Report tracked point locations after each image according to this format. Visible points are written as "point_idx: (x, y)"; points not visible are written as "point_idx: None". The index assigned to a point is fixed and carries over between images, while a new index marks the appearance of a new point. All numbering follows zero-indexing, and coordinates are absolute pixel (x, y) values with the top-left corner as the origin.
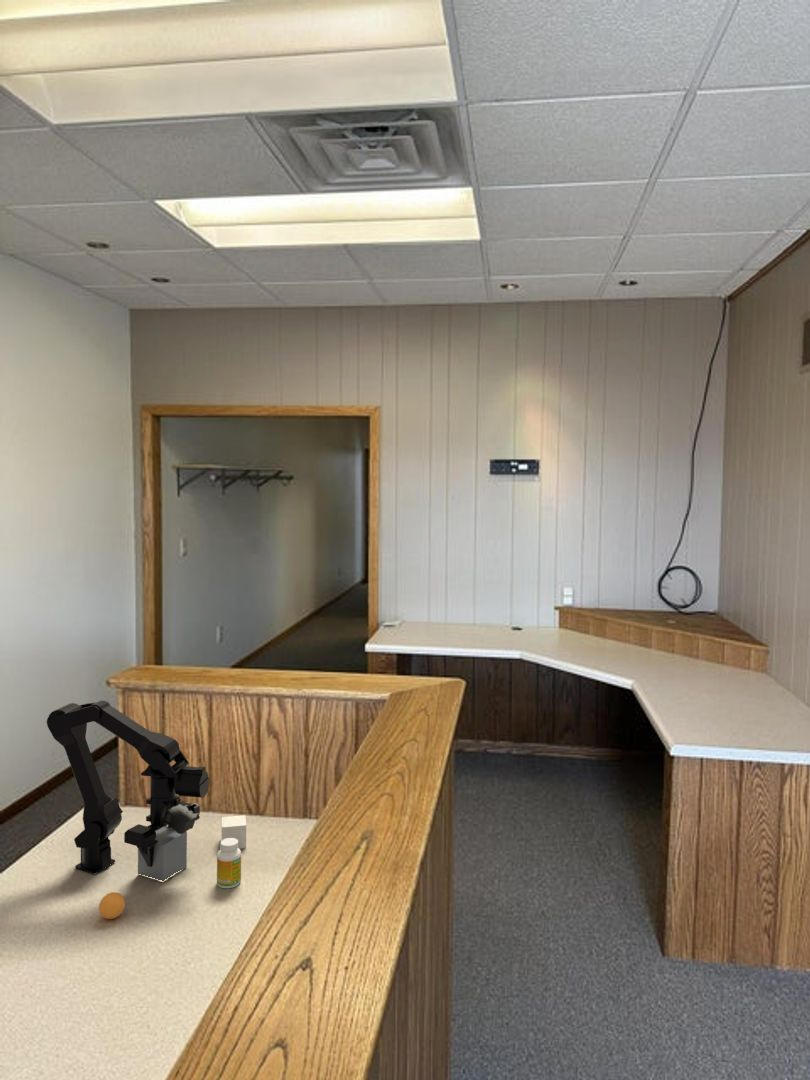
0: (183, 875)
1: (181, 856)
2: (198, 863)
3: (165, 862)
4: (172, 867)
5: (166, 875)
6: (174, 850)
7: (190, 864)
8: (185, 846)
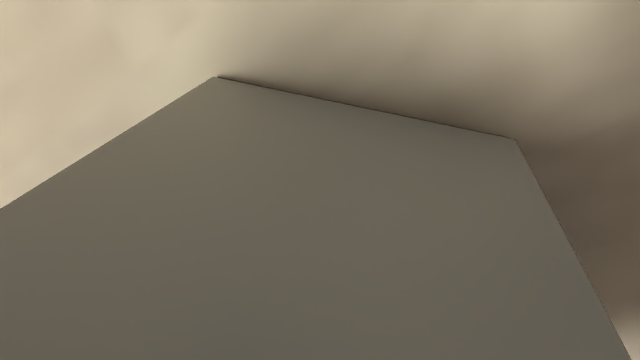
0: (330, 31)
1: (218, 152)
2: (102, 15)
3: (538, 265)
4: (387, 157)
5: (484, 154)
6: (319, 296)
7: (152, 77)
8: (68, 191)
